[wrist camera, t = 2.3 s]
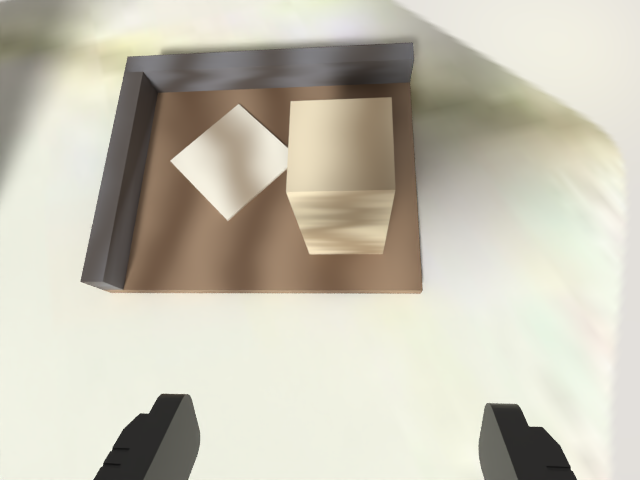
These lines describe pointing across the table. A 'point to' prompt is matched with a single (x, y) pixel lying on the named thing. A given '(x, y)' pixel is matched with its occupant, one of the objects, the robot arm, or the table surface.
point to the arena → (240, 175)
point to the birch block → (341, 173)
